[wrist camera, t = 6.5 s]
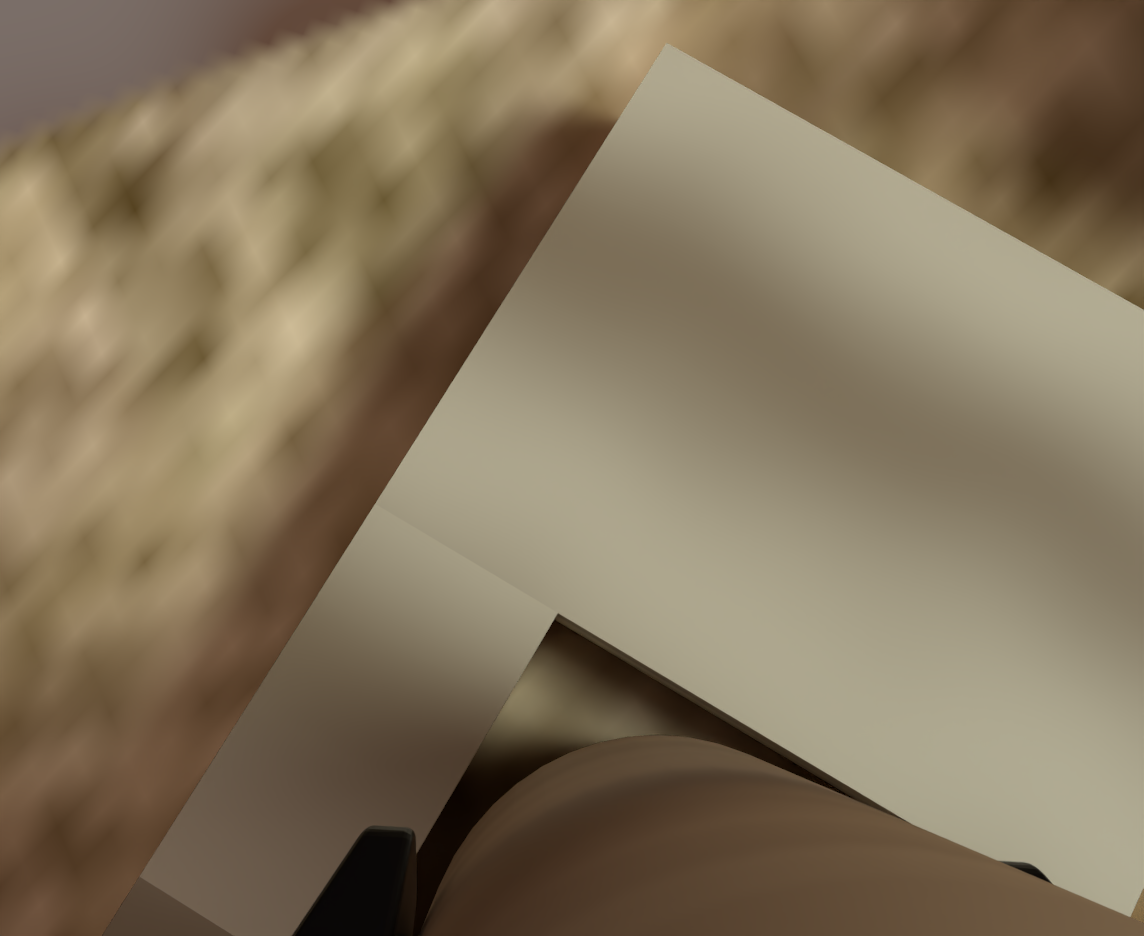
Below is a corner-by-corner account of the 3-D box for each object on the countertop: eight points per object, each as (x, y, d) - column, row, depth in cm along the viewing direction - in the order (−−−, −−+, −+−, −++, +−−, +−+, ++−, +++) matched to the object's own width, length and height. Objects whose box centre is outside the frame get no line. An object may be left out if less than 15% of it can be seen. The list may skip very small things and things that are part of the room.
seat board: (764, 1450, 15) (811, 1612, 12) (89, 1019, 15) (3, 1090, 13) (1237, 459, 17) (1354, 428, 15) (648, 127, 18) (666, 43, 15)
